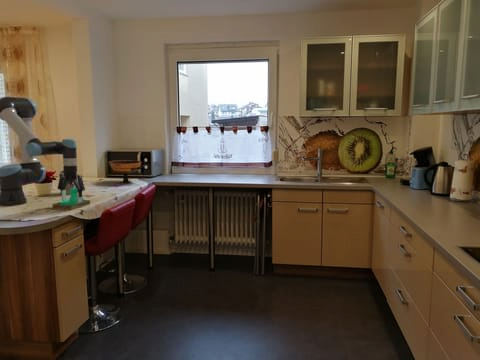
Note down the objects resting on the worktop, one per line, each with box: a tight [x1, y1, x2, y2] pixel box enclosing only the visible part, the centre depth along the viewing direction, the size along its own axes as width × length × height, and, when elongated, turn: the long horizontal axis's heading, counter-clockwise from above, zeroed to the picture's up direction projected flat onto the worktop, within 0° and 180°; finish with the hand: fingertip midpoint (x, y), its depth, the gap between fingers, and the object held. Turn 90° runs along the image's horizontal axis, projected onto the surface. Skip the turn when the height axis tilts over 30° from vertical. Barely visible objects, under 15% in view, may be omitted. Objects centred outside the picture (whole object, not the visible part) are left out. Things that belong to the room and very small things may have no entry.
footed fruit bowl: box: [106, 159, 145, 185], centre depth 310 cm, size 36×26×18 cm
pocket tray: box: [52, 199, 91, 211], centre depth 225 cm, size 13×17×2 cm
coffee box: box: [59, 170, 78, 195], centre depth 261 cm, size 9×6×16 cm
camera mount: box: [59, 188, 85, 205], centre depth 225 cm, size 12×8×10 cm, turn 166°
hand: (71, 201), depth 225 cm, fingers open, 10 cm apart
